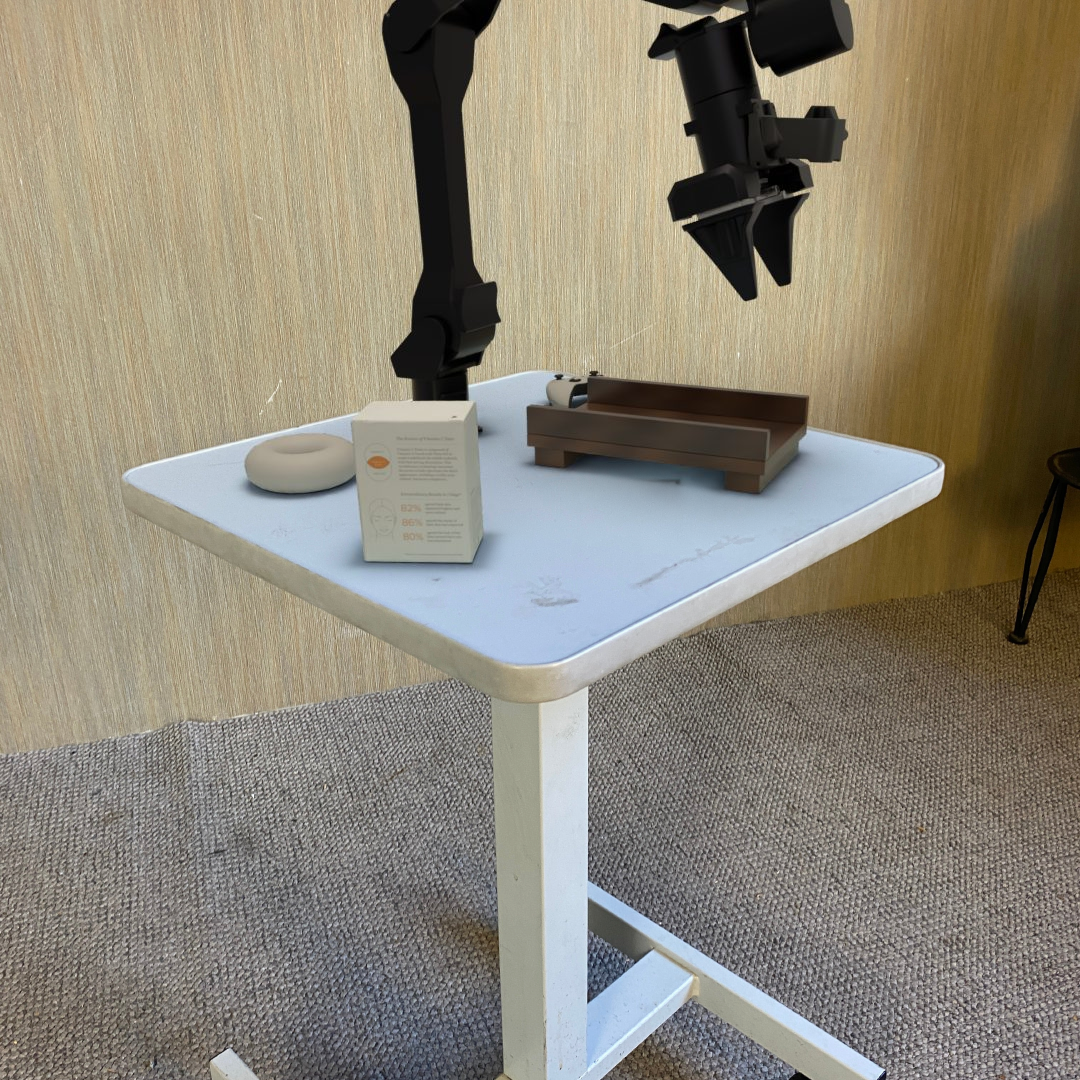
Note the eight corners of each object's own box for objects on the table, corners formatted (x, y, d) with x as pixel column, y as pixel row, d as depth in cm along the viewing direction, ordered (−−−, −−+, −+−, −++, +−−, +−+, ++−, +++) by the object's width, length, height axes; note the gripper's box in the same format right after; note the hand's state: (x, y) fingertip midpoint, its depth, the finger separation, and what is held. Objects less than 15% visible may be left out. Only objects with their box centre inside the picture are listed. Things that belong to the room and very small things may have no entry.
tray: (527, 465, 96) (526, 406, 94) (591, 428, 107) (591, 375, 105) (763, 496, 86) (767, 432, 84) (805, 453, 98) (809, 395, 96)
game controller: (562, 409, 111) (543, 362, 113) (546, 435, 116) (528, 390, 118) (639, 397, 115) (619, 353, 117) (621, 424, 120) (602, 380, 122)
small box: (484, 536, 79) (479, 399, 75) (473, 565, 74) (466, 419, 70) (380, 534, 80) (369, 398, 76) (361, 562, 74) (349, 418, 71)
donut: (317, 506, 86) (383, 470, 95) (313, 466, 85) (380, 433, 94) (222, 491, 90) (293, 458, 99) (216, 453, 89) (289, 423, 98)
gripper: (786, 54, 71) (836, 280, 75) (852, 66, 86) (891, 254, 90) (642, 111, 77) (694, 318, 81) (727, 113, 93) (768, 287, 96)
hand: (768, 292), depth 86 cm, fingers open, 9 cm apart
